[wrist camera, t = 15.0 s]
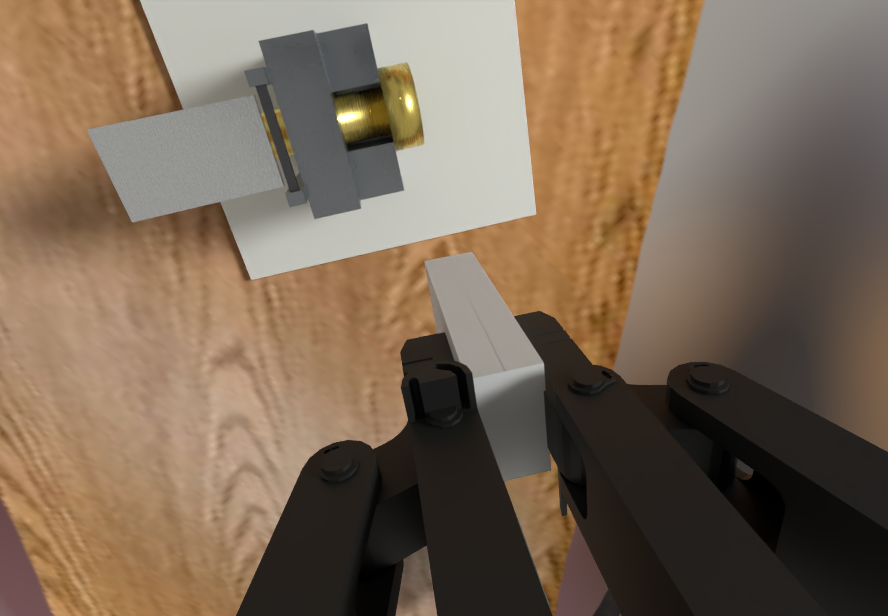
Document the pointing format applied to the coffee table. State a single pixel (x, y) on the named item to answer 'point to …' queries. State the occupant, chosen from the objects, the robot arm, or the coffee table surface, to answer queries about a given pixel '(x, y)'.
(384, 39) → the mat
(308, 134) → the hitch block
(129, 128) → the grey flat brushed plate
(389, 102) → the pin
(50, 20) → the coffee table surface
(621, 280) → the coffee table surface
